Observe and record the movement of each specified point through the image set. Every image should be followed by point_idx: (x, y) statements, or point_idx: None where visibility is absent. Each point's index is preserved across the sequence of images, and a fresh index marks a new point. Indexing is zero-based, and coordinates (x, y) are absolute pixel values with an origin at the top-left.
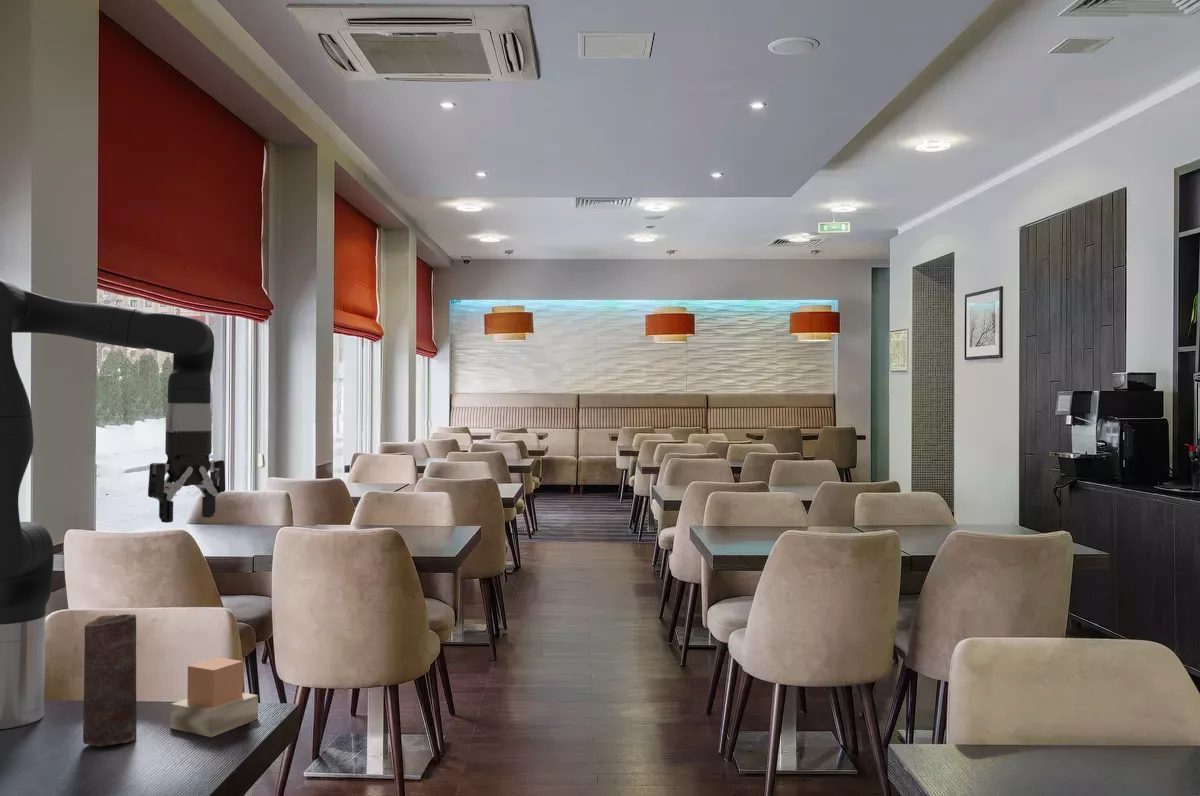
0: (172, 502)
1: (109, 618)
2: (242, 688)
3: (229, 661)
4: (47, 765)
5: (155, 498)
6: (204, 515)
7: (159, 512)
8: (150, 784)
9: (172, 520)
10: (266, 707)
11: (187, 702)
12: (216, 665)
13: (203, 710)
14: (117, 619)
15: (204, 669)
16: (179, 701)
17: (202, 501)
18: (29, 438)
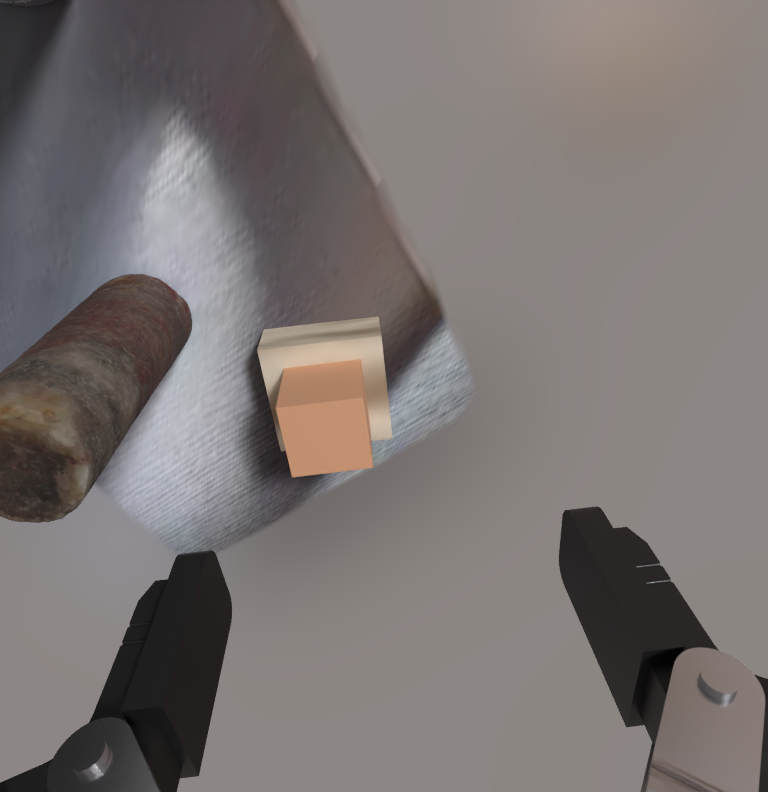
0: (193, 762)
1: (21, 432)
2: (370, 432)
3: (355, 448)
4: (24, 323)
5: (25, 772)
6: (567, 531)
7: (129, 631)
8: (131, 508)
9: (228, 617)
10: (443, 373)
11: (283, 370)
12: (318, 452)
13: (276, 432)
14: (41, 456)
15: (287, 452)
16: (276, 351)
17: (620, 610)
18: None
